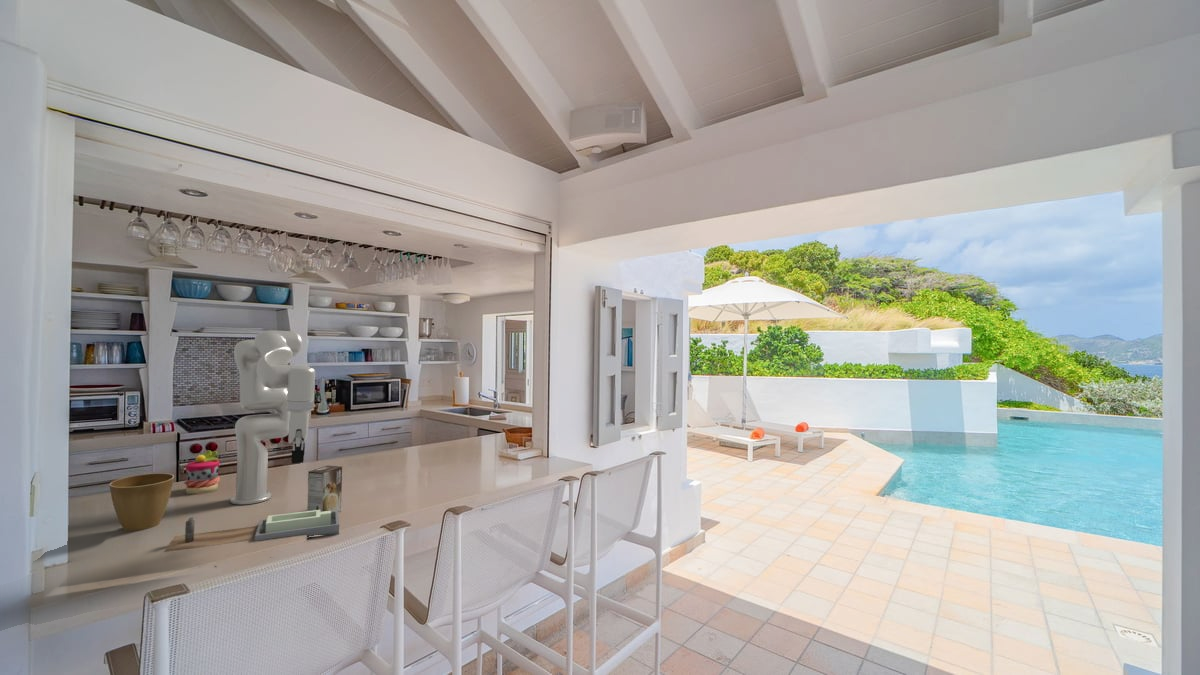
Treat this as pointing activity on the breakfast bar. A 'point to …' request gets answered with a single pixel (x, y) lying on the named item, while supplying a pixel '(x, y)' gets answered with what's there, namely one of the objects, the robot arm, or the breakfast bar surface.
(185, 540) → the board
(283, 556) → the breakfast bar surface
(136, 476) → the plant pot
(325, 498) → the coffee box
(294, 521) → the collar
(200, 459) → the cake
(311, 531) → the tray
